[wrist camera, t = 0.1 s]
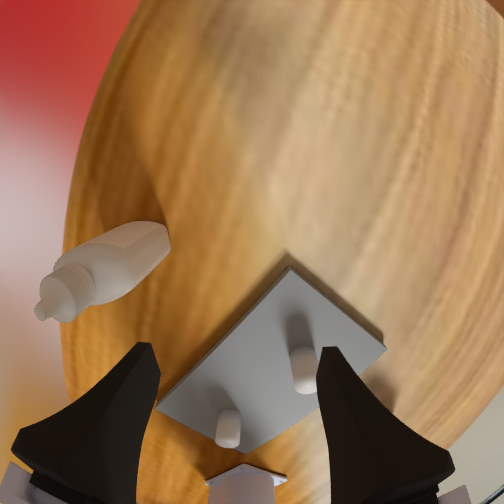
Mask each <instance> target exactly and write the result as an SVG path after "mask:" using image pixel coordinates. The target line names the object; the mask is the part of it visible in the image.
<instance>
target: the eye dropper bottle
mask: <svg viewBox="0 0 504 504" xmlns="http://www.w3.org/2000/svg"><path fill="white" fill-rule="evenodd" d="M170 250H171V246H170V241H169V236H168V231H167V229H166V227H165V226H164V225H163V224H160V223H156V222H151V221H134V222H129V223H126V224H123V225H121V226H118V227H116V228H114V229H112V230H110V231H108V232H105V233H103V234H101V235H99V236H97V237H95V238H93V239H91V240H89V241H87V242H85V243H83V244H81V245H79V246H77V247H75V248H73V249H71V250H69V251H68V252H66V253H65V254H63V255H62V256H61V257H60V258H59V259H58V260H57V262H56V263H55V265H54V268H53V270H54V272H53V273H51V274H49V275H48V276H46V277H45V278H44V279H43V280H42V282H41V284H40V297H41V300H40V302H39V303H38V304H37V305H36V307H35V308H34V312H35V315H36V316H37V318H38V319H39V320H41V321H44V320H46V319H48V318H51V317H53V318H54V319H56V320H57V321H60V322H63V323H69V322H71V321H73V320H74V319H75V318H76V317H77V316H78V315H79V314H80V313H81V312H83V311H84V310H85V309H86V308H87V307H88V306H89V305H101V304H105V303H109V302H111V301H114V300H116V299H118V298H120V297H122V296H124V295H125V294H127V293H128V292H129V291H131V290H132V289H133V288H134V287H135V286H137V285H138V284H139V283H140V282H141V281H142V280H143V279H144V278H145V277H146V276H147V275H148V274H149V273H150V272H151V271H152V270H153V269H154V268H155V267H156V266H157V265H158V264H159V263H160V262H161V261H162V260H163V259H164V258H165V257H166V256H167V255H168V254H169V252H170Z"/></svg>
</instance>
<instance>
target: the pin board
mask: <svg viewBox="0 0 504 504" xmlns="http://www.w3.org/2000/svg"><path fill="white" fill-rule="evenodd" d="M329 346H337V347H338V348H339V349H340V351H341V352H342V354H343V355H344V357H345V358H346V360H347V361H348V363H349V364H350V365H351V367H352V368H353V370H354V371H355V372H356V374H357V375H358V376H359V375H360V374H361V373H362V372H363V371H364V370H366V369H367V368H368V367H369V366H370V365H371V364H372V363H373V362H374V361H376V360H377V359H378V358H379V357H380V356H381V355H382V354H383V353H384V352H385V351H386V350H387V348H386V346H385V345H384V343H383V342H381V341H380V340H379V339H378V338H377V337H375V336H374V335H373V334H372V333H371V332H369V331H368V330H367V329H366V328H365V327H363V326H362V325H361V324H360V323H359V322H357V321H356V320H355V319H354V318H353V317H351V316H350V315H349V314H348V313H347V312H345V311H344V310H343V309H342V308H341V307H339V306H338V305H337V304H336V303H335V302H333V301H332V300H331V299H330V298H329V297H327V296H326V295H325V294H324V293H322V292H321V291H320V290H319V289H318V288H316V287H315V286H314V285H313V284H311V283H310V282H309V281H308V280H307V279H305V278H304V277H303V276H302V275H300V274H299V273H298V272H297V271H296V270H294V269H293V268H292V267H291V266H288V267H287V268H286V269H285V270H284V272H283V273H282V274H281V275H280V276H279V277H278V278H277V279H276V280H275V281H274V283H273V284H272V285H271V286H270V287H269V288H268V289H267V290H266V291H265V292H264V293H263V294H262V296H261V297H260V298H259V299H258V300H257V301H256V302H255V303H254V304H253V305H252V306H251V307H250V308H249V309H248V311H247V312H246V313H245V314H244V315H243V316H242V317H241V318H240V319H239V320H238V321H237V322H236V323H235V324H234V325H233V326H232V327H231V328H230V330H229V331H228V332H227V333H226V334H225V335H224V336H223V337H222V338H221V339H220V340H219V341H218V342H217V343H216V344H215V345H214V346H213V347H212V348H211V349H210V350H209V351H208V352H207V353H206V354H205V355H204V356H203V357H202V358H201V359H200V360H199V361H198V362H197V363H196V364H195V365H194V366H193V367H192V368H191V369H190V370H189V371H188V372H187V373H186V374H185V375H184V376H183V377H182V378H181V379H180V380H179V381H178V382H177V383H176V384H175V385H174V386H173V387H172V388H171V389H170V390H169V391H168V392H167V393H166V394H165V395H164V396H163V397H162V398H161V399H160V400H159V401H158V402H157V404H156V407H155V409H157V410H158V411H160V412H162V413H163V414H165V415H167V416H169V417H170V418H172V419H174V420H176V421H177V422H179V423H181V424H183V425H185V426H187V427H188V428H190V429H192V430H194V431H196V432H198V433H200V434H202V435H204V436H206V437H208V438H210V439H212V440H214V441H215V443H216V444H217V445H219V446H220V447H223V448H232V449H234V450H237V451H239V452H242V453H244V454H248V453H249V452H251V451H253V450H255V449H256V448H258V447H260V446H261V445H263V444H265V443H266V442H268V441H270V440H271V439H273V438H274V437H276V436H278V435H279V434H281V433H282V432H284V431H285V430H287V429H288V428H290V427H292V426H293V425H294V424H296V423H297V422H299V421H300V420H302V419H303V418H305V417H306V416H307V415H309V414H310V413H312V412H313V411H314V410H316V409H317V408H319V402H318V397H317V387H316V374H317V370H318V365H319V361H320V356H321V352H322V347H329Z"/></svg>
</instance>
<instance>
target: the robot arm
mask: <svg viewBox="0 0 504 504" xmlns="http://www.w3.org/2000/svg"><path fill="white" fill-rule="evenodd" d="M160 376H161V373H160V370H159V367H158V364H157V361H156V358H155V355H154V351H153V348H152V345H151V343H145V342H138V343H137V344H136V345H135V346H134V347H133V348H132V349H131V350H130V351H129V352H128V353H127V354H126V355H125V356H124V357H123V358H122V359H121V360H120V361H119V362H118V363H117V364H116V365H115V366H114V367H113V369H112V370H111V371H110V372H109V373H108V374H107V375H106V376H105V377H103V378H102V379H101V380H100V381H99V382H98V383H97V384H96V385H95V386H94V387H93V388H91V389H90V390H89V391H88V392H87V393H85V394H84V395H83V396H82V397H80V398H79V399H78V400H76V401H75V402H73V403H72V404H70V405H69V406H67V407H66V408H64V409H63V410H61V411H59V412H58V413H56V414H54V415H52V416H50V417H48V418H46V419H44V420H42V421H40V422H37V423H35V424H32V425H30V426H27V427H24V428H22V429H20V431H19V433H18V435H17V437H16V439H15V441H14V443H13V445H12V448H11V451H12V453H13V454H14V455H15V456H16V457H17V458H19V459H20V460H21V461H22V462H24V463H25V464H26V465H28V466H29V467H30V468H31V469H33V470H34V471H33V474H30V473H29V472H28V471H26V470H24V469H23V468H21V467H20V466H18V465H16V464H15V463H13V462H12V461H11V462H10V463H9V465H8V468H7V470H6V472H5V475H4V477H3V480H2V482H1V485H0V502H1V503H2V504H136V486H137V474H138V466H139V458H140V452H141V446H142V441H143V437H144V433H145V430H146V427H147V423H148V420H149V417H150V414H151V411H152V408H153V405H154V402H155V399H156V396H157V392H158V387H159V382H160ZM316 387H317V397H318V402H319V407H320V411H321V416H322V420H323V425H324V429H325V434H326V438H327V444H328V451H329V462H330V478H331V504H471V501H470V498H469V494H468V491H467V488H466V485H462V486H461V487H458V488H456V489H454V490H452V491H450V492H448V493H446V494H444V495H442V496H440V497H438V498H437V495H436V493H437V492H438V491H439V488H438V484H439V483H440V482H442V481H443V480H445V479H446V478H447V477H449V476H450V475H451V474H452V473H453V472H454V471H455V467H454V464H453V461H452V458H451V456H450V453H449V451H447V450H445V449H443V448H441V447H439V446H437V445H435V444H433V443H431V442H430V441H428V440H426V439H425V438H423V437H422V436H420V435H419V434H417V433H416V432H414V431H413V430H412V429H410V428H409V427H408V426H406V425H405V424H404V423H402V422H401V421H400V420H399V419H398V418H397V417H395V416H394V415H393V414H392V413H391V412H390V411H389V410H388V409H387V408H386V407H385V406H384V405H383V404H382V403H381V402H380V401H379V400H378V399H377V398H376V397H375V396H374V394H373V393H372V392H371V391H370V390H369V389H368V388H367V386H366V385H365V384H364V383H363V381H362V380H361V379H360V377H359V376H358V375H357V374H356V372H355V371H354V370H353V368H352V367H351V365H350V364H349V363H348V361H347V360H346V358H345V357H344V355H343V354H342V352H341V351H340V349H339V348H338V347H337V346H329V347H322V352H321V356H320V361H319V365H318V370H317V374H316ZM287 480H288V479H287V478H286V477H283V476H280V475H277V474H274V473H270V472H267V471H264V470H262V469H259V468H256V467H253V466H250V465H248V464H241V465H239V466H237V467H235V468H233V469H231V470H229V471H227V472H225V473H223V474H221V475H219V476H216V477H214V478H212V479H210V480H207V481H205V484H206V485H208V486H210V488H209V496H208V503H207V504H275V486H277V485H279V484H281V483H284V482H286V481H287Z"/></svg>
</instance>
